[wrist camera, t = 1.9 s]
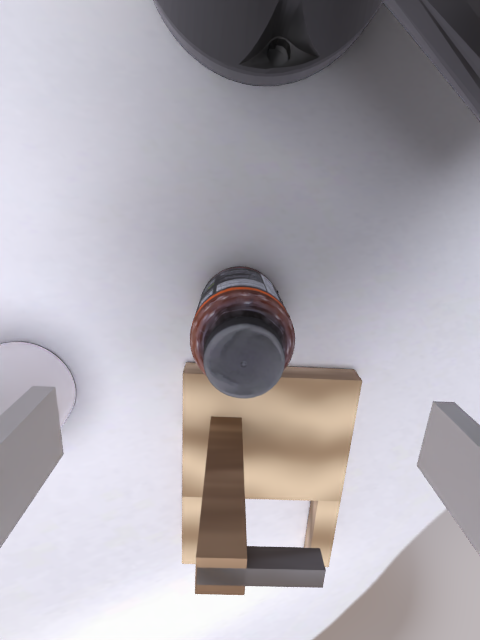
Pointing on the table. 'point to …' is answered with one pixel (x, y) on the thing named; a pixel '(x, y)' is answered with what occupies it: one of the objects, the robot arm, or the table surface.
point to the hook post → (240, 528)
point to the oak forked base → (276, 445)
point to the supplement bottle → (242, 333)
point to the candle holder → (34, 375)
